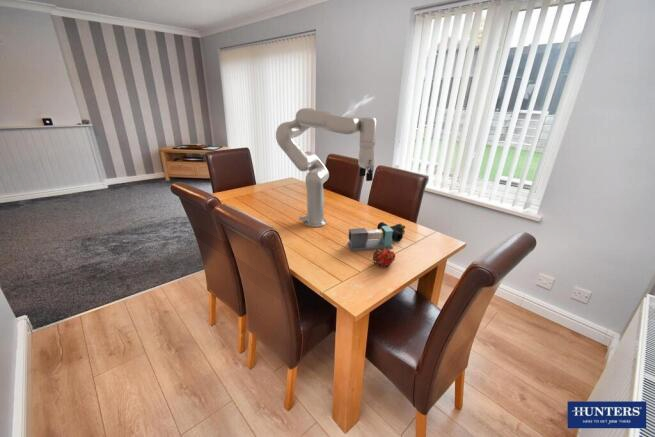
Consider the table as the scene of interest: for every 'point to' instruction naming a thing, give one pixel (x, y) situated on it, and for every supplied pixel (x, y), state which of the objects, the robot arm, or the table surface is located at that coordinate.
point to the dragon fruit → (383, 257)
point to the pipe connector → (396, 228)
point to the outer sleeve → (358, 237)
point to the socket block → (386, 235)
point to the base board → (370, 246)
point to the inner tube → (374, 234)
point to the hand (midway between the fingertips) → (365, 178)
